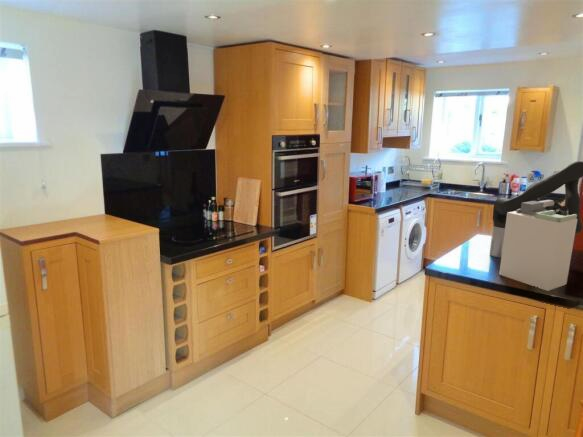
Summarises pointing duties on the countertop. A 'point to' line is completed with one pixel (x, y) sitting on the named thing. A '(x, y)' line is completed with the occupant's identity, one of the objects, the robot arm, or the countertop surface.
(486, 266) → the countertop surface
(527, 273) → the cabinet
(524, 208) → the light grey rectangular prism
